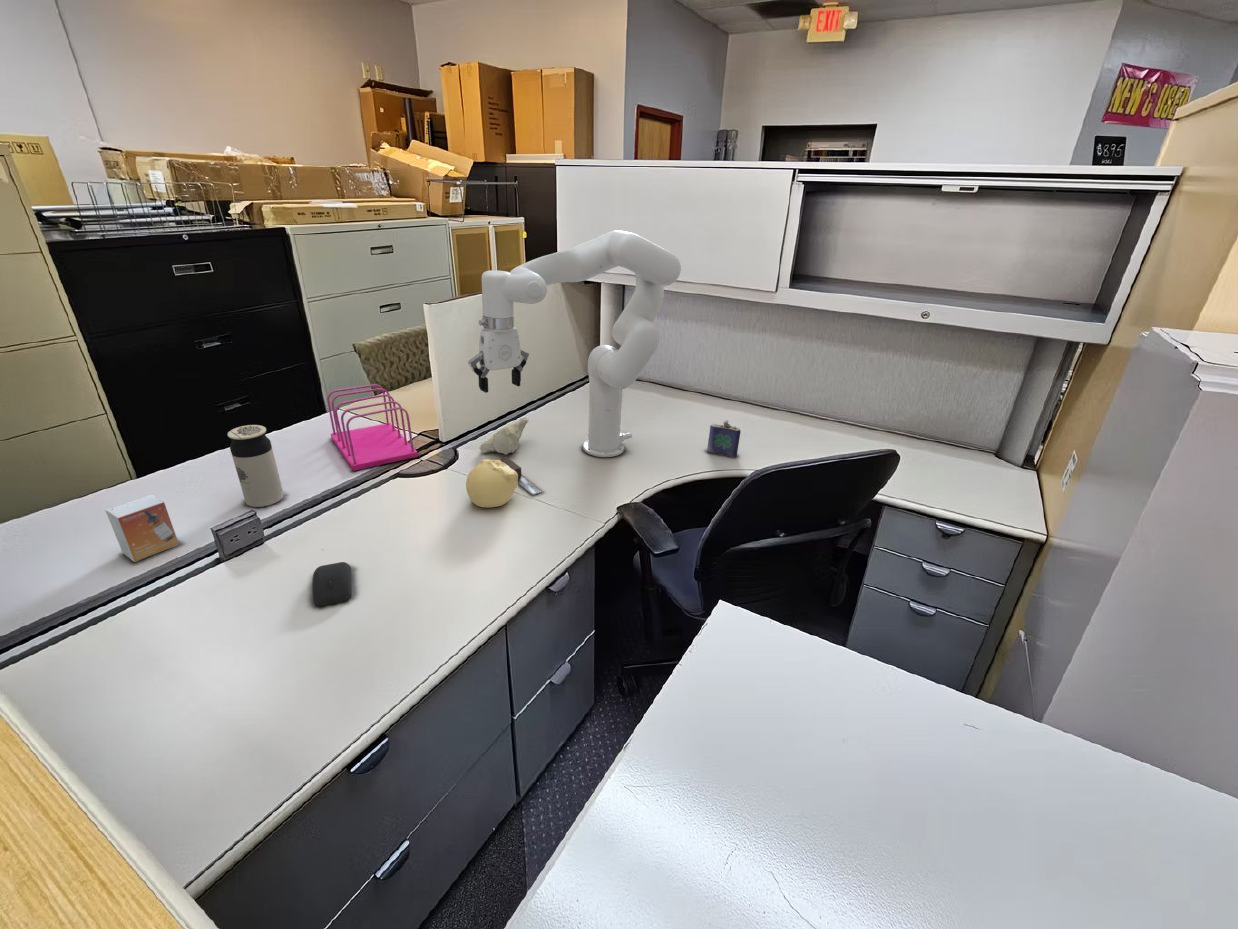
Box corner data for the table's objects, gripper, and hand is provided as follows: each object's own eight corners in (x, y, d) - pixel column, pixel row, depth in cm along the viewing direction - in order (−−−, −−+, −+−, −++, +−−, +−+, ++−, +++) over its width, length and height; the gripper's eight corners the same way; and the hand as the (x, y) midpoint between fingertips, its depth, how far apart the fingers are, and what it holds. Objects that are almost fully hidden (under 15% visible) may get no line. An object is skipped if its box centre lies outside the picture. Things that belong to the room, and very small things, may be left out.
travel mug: (278, 488, 140) (261, 421, 132) (288, 500, 135) (271, 432, 127) (241, 498, 135) (221, 429, 127) (251, 511, 130) (231, 441, 122)
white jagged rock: (489, 469, 159) (529, 438, 157) (473, 449, 158) (513, 417, 156) (503, 462, 174) (540, 433, 172) (488, 443, 173) (526, 414, 171)
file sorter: (353, 472, 149) (343, 417, 142) (331, 439, 167) (321, 389, 160) (418, 457, 159) (411, 405, 152) (390, 427, 177) (384, 380, 170)
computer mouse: (314, 608, 102) (309, 591, 100) (316, 572, 111) (312, 556, 109) (351, 601, 104) (348, 584, 103) (351, 566, 114) (348, 550, 112)
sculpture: (525, 501, 140) (524, 462, 135) (485, 518, 132) (483, 478, 127) (498, 484, 147) (496, 447, 142) (458, 500, 139) (455, 461, 134)
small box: (134, 563, 111) (116, 518, 106) (122, 553, 114) (103, 509, 109) (180, 544, 117) (164, 501, 113) (167, 535, 120) (151, 493, 115)
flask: (706, 452, 172) (710, 420, 167) (707, 449, 174) (712, 417, 169) (736, 458, 169) (741, 425, 164) (737, 454, 172) (742, 422, 167)
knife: (499, 468, 155) (499, 458, 154) (508, 466, 157) (507, 456, 156) (532, 495, 143) (532, 485, 142) (541, 492, 144) (541, 482, 143)
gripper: (475, 329, 132) (478, 397, 140) (535, 322, 143) (535, 386, 150) (459, 323, 137) (463, 389, 145) (519, 317, 148) (520, 379, 155)
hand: (500, 388), depth 147 cm, fingers open, 9 cm apart
